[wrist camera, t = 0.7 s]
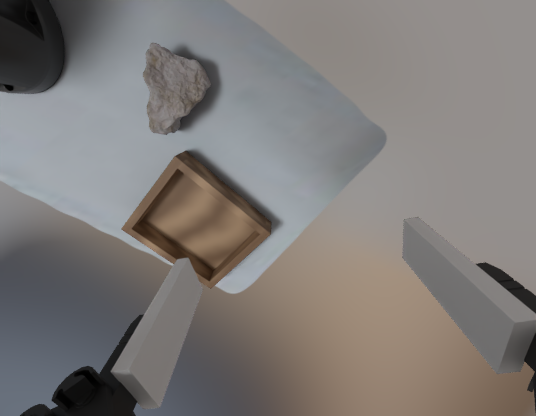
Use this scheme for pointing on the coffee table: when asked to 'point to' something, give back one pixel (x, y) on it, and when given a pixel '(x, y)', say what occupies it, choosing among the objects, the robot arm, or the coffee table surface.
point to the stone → (172, 88)
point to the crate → (197, 220)
